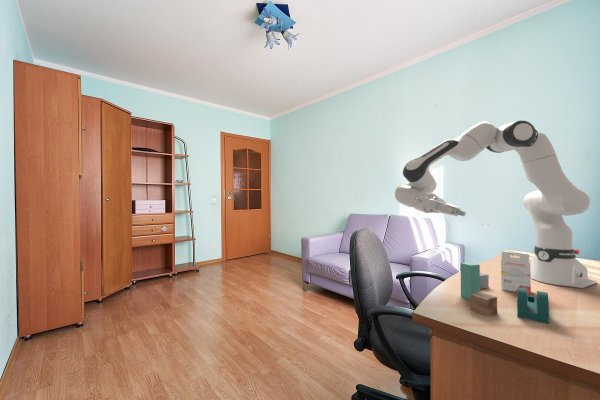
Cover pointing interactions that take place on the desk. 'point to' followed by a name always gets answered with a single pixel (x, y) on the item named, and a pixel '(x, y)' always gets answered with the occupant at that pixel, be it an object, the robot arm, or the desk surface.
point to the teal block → (470, 279)
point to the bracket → (533, 306)
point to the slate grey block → (484, 280)
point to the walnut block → (483, 303)
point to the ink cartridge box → (515, 272)
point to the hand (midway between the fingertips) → (458, 212)
